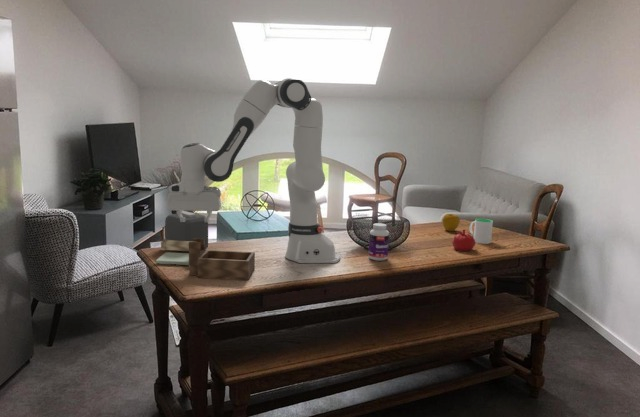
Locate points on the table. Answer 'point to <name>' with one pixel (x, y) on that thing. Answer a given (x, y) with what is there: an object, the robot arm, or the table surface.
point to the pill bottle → (378, 242)
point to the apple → (450, 222)
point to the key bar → (175, 245)
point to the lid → (174, 258)
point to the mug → (482, 230)
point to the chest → (219, 262)
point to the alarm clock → (186, 227)
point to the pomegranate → (463, 241)
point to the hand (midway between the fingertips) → (194, 221)
